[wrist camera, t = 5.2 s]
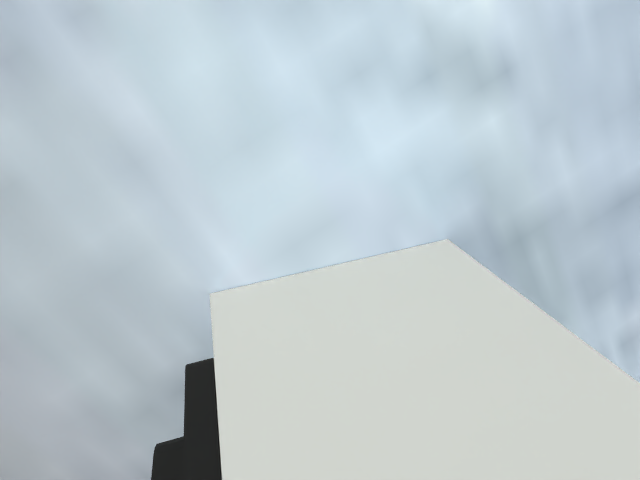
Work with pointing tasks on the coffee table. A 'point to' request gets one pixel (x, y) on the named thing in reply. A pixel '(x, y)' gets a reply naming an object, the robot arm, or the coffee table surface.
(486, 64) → the coffee table surface
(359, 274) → the light gray block
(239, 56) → the coffee table surface
